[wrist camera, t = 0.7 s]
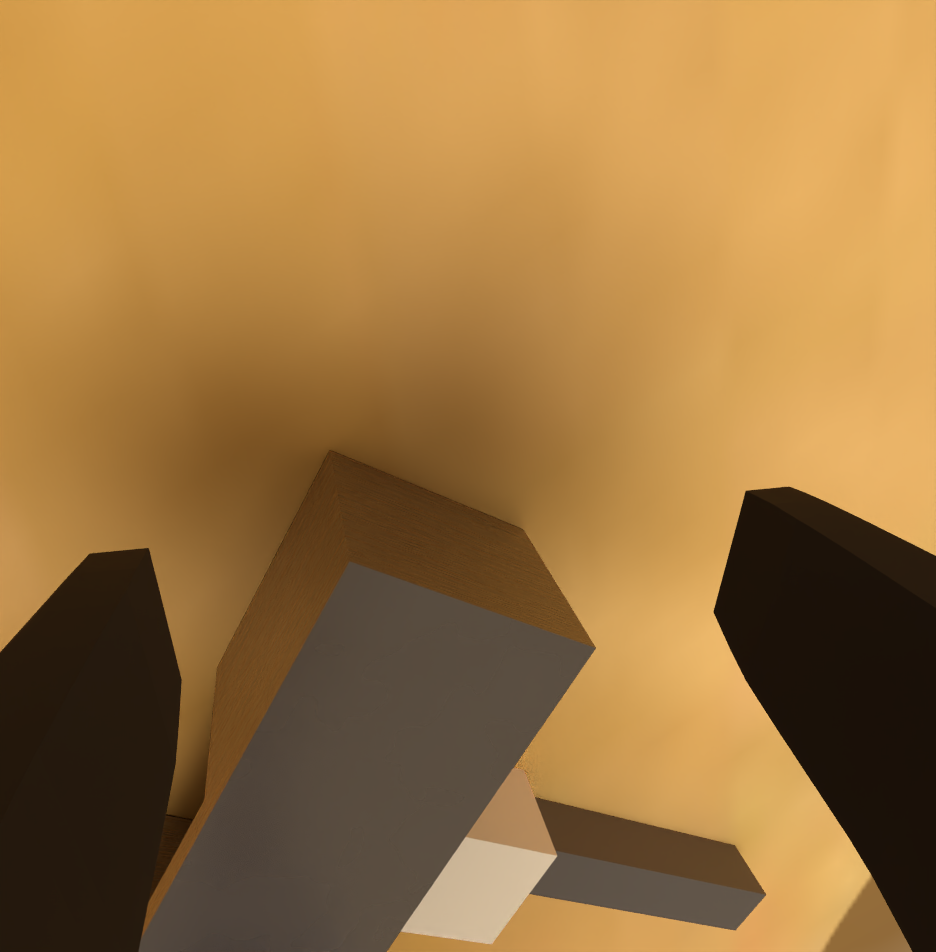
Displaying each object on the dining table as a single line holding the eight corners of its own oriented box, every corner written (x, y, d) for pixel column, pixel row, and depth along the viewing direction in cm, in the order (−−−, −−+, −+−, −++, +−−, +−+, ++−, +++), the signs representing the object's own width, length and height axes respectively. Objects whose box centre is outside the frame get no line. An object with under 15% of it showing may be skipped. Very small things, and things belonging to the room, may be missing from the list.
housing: (239, 986, 27) (232, 1174, 22) (61, 969, 24) (10, 1175, 20) (523, 529, 21) (595, 647, 17) (329, 450, 19) (349, 561, 14)
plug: (692, 895, 31) (737, 979, 28) (365, 831, 25) (378, 928, 22) (749, 827, 30) (802, 906, 27) (421, 743, 24) (443, 832, 21)
